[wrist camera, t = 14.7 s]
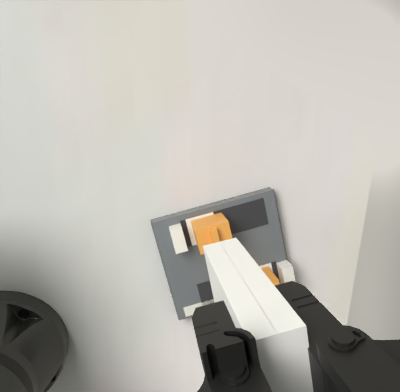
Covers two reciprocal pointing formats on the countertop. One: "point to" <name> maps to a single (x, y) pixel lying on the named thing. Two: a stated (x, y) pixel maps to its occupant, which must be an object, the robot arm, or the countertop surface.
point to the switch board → (240, 228)
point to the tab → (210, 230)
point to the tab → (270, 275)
